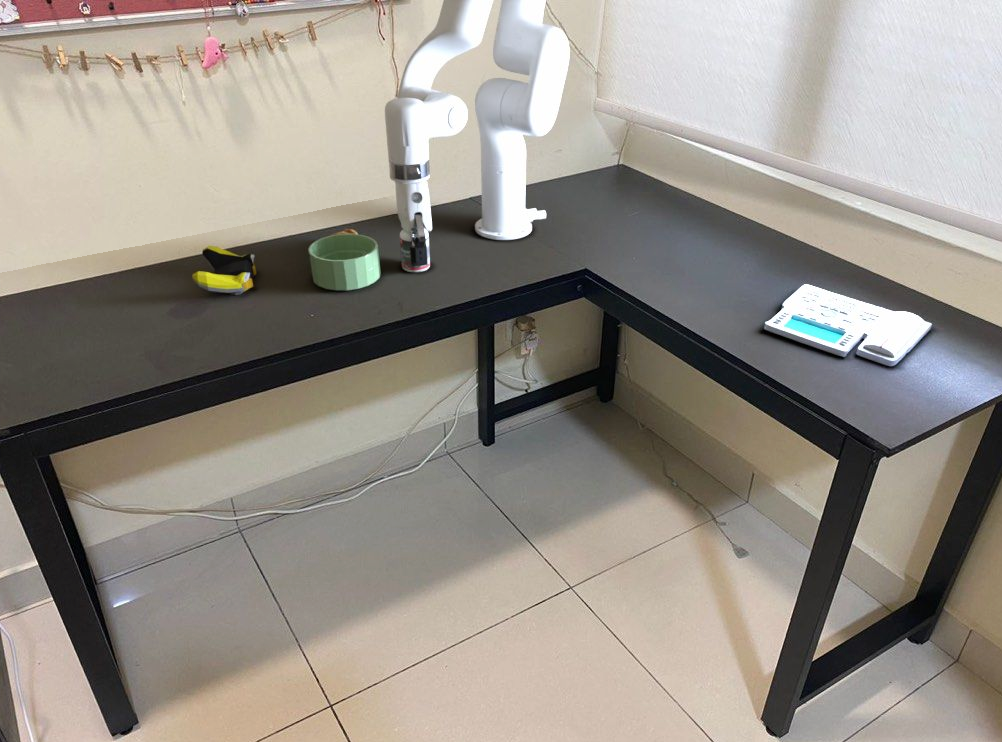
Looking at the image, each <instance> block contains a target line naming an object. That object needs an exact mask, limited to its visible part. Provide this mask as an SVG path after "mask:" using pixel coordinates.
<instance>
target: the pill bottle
mask: <svg viewBox="0 0 1002 742" xmlns="http://www.w3.org/2000/svg"><path fill="white" fill-rule="evenodd" d="M400 226H401V230H400V232H399V246H400V262H401V268H402V269H403V270H404V271H405V272H408V273H422V272H425V271H427V270H428V269H429V268H430V267H431V255H430V237H429V231H427V230H426V228H425V227H424V230H425V235H426V246H427V262H428V263H427V265H422V266H415V267H413V266H412V265H411V256H410V247H412V246H411V239H410V233H408V232H407V231H406V229H405V228H404V225H403V222H402V221H400ZM402 228H403V230H402ZM412 231H417V229H416V228H412ZM416 237H417V234H414V241H415V238H416Z"/></svg>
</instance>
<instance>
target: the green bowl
mask: <svg viewBox="0 0 1002 742" xmlns="http://www.w3.org/2000/svg"><path fill="white" fill-rule="evenodd" d="M307 251H308V258H309V264H310V270H311V271H310V272H311V277H312V281H313V283H314V284H315V285H316V286H317V287H320V288H322V289H325V290H331V291H352V290H358V289H362V288H365V287H368V286H370V285H371V284H374V283H375V282H377V281H378V280H379V279H380V277H381V262H380V251H379V244H378V242H377V240H375V239H374V238H372V237H371V236H367V235H364V234H358V233H357V234H339V235H332V236H330V235H327V236H324V237H322V238H319V239H316V240H315V241H314V242H312V243H311V244H310V245H309V247H308V250H307Z"/></svg>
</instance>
